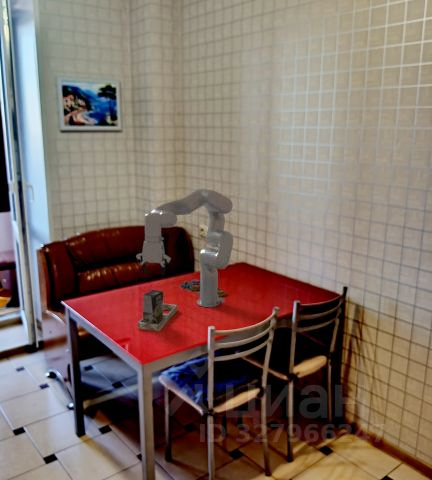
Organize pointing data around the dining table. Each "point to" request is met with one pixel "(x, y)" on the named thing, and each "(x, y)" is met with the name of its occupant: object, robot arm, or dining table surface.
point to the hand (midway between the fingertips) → (153, 273)
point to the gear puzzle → (198, 287)
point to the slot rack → (165, 319)
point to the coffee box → (153, 307)
